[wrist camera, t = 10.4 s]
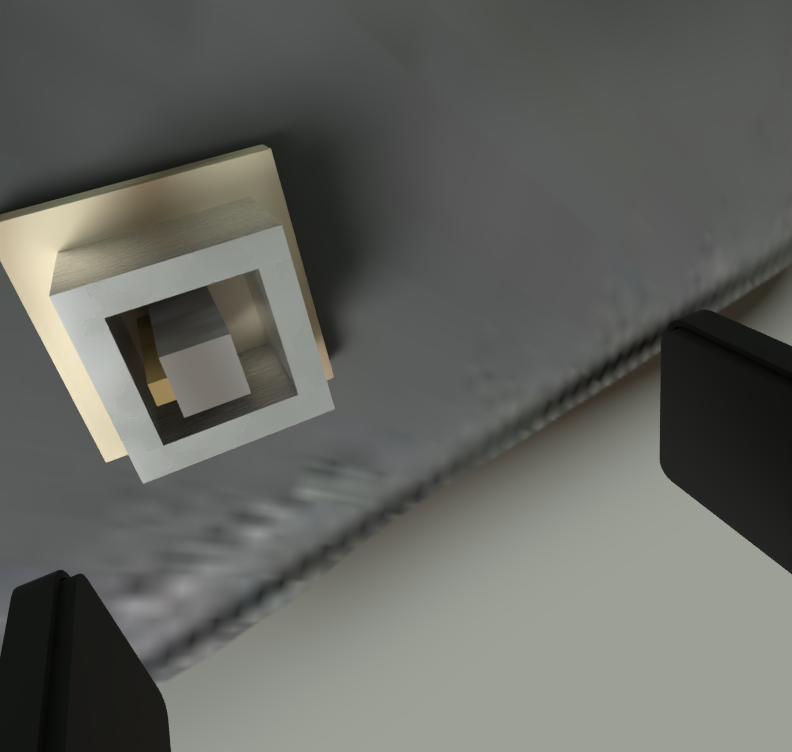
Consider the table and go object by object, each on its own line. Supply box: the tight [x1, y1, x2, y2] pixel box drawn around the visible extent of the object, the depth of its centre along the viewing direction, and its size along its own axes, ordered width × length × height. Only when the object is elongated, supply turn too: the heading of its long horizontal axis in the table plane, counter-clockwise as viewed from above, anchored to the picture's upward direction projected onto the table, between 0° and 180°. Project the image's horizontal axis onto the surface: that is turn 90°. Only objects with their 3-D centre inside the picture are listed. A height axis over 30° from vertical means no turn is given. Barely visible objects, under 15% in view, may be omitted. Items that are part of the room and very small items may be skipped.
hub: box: [49, 197, 335, 484], centre depth 23 cm, size 7×7×5 cm
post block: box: [0, 144, 334, 462], centre depth 23 cm, size 10×10×8 cm
